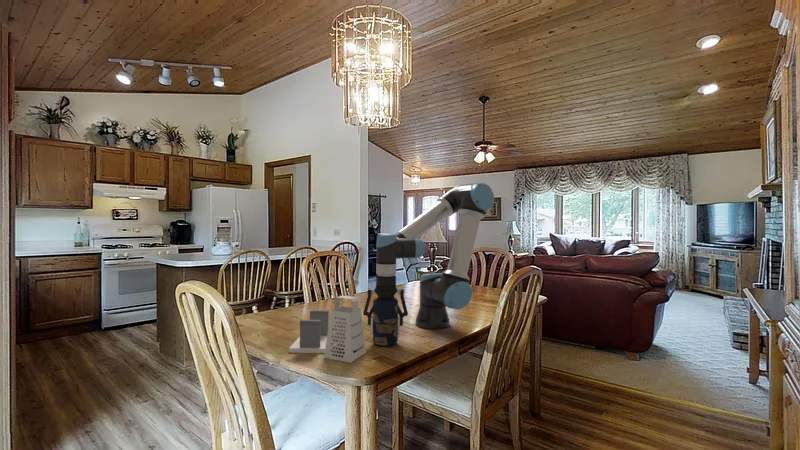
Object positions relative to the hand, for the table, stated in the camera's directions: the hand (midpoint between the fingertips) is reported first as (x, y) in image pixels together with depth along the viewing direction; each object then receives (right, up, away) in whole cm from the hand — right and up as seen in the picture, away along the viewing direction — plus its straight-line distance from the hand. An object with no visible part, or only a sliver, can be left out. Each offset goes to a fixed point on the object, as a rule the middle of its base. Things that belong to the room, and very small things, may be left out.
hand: (385, 333), depth 143 cm
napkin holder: (-26, -3, -3) cm, 26 cm away
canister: (0, -4, 0) cm, 4 cm away
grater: (-13, -4, -13) cm, 19 cm away
